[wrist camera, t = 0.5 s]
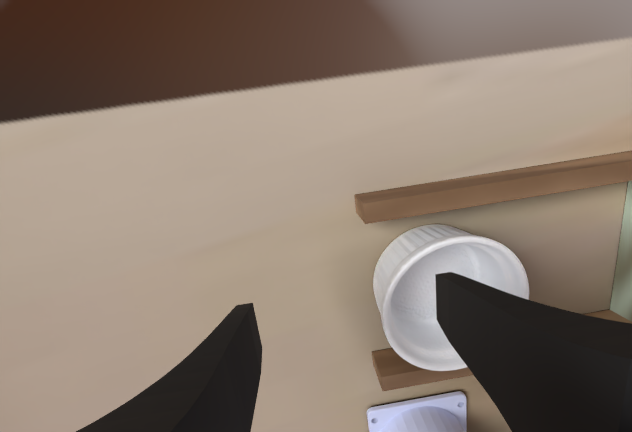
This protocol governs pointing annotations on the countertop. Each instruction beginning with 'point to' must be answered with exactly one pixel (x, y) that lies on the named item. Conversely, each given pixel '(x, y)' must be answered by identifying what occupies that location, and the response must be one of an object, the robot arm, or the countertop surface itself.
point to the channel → (628, 288)
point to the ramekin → (420, 287)
